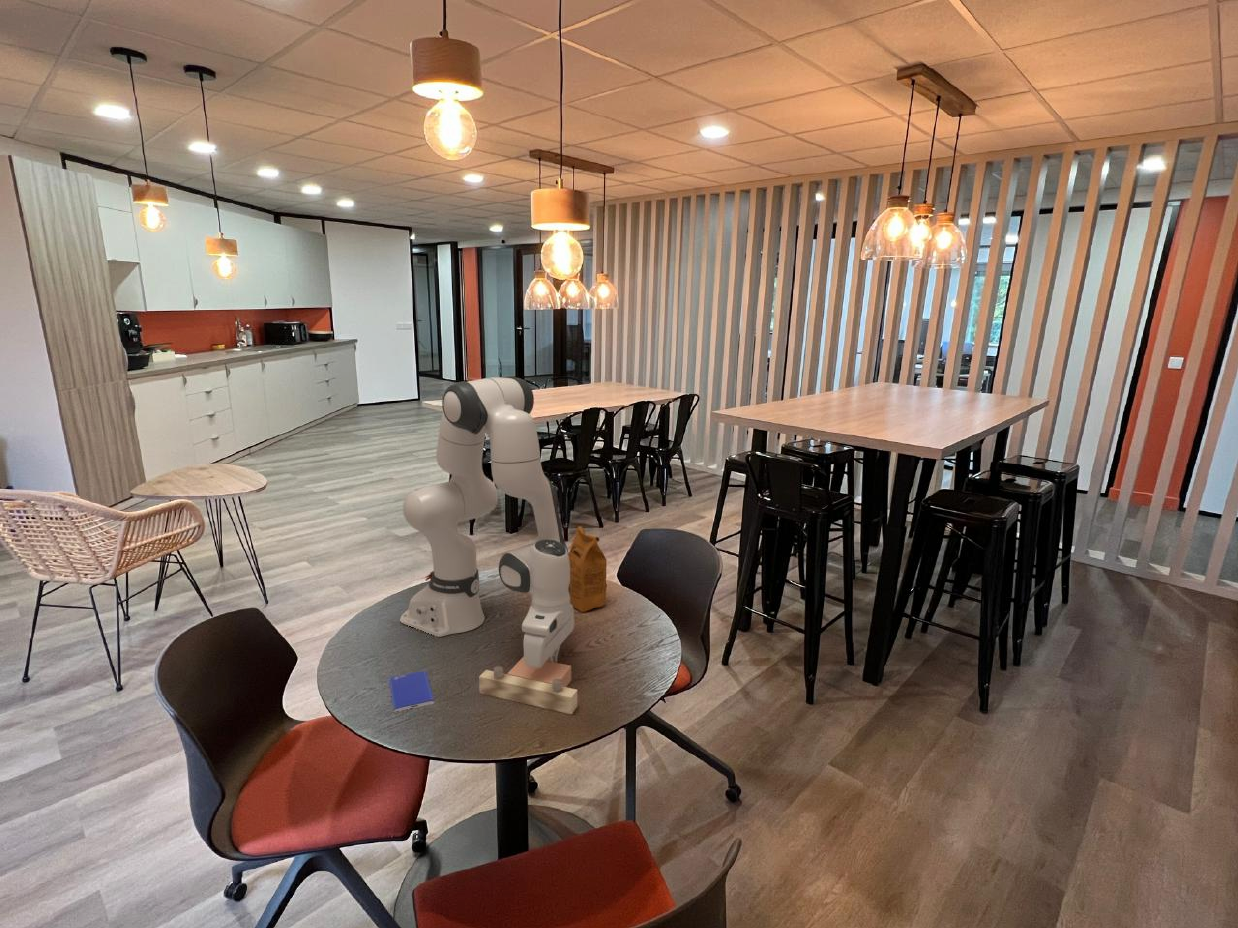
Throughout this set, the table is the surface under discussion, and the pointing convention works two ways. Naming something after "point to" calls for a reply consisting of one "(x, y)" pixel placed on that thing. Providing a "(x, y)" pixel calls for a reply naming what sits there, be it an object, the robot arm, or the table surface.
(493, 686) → the stop bar
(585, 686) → the table surface
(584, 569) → the coffee package
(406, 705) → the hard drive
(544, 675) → the terracotta block
